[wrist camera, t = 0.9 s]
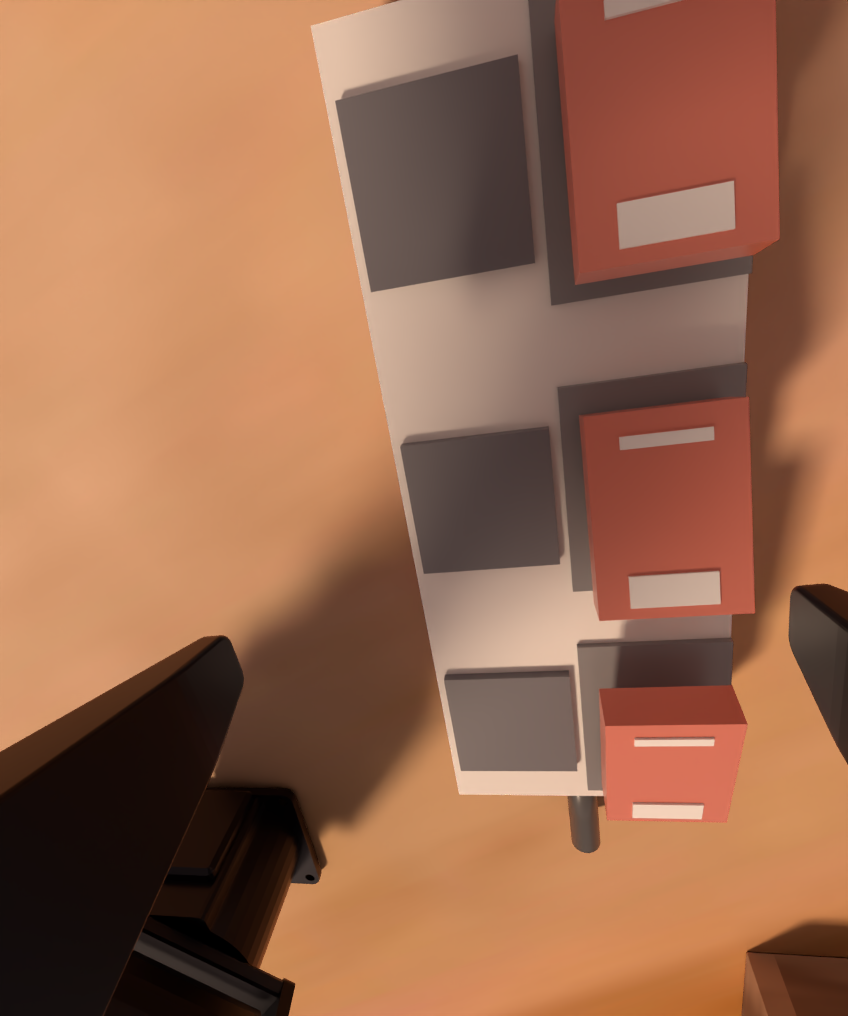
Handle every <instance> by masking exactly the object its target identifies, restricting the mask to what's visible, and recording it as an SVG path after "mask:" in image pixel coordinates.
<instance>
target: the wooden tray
mask: <svg viewBox="0 0 848 1016" xmlns="http://www.w3.org/2000/svg"><path fill="white" fill-rule="evenodd" d="M742 1016H848V959H846V958H830V957H814V956H798V955H782V954H766V953H751V952H747V955H746V967H745V980H744V992H743V1004H742Z"/></svg>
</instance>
